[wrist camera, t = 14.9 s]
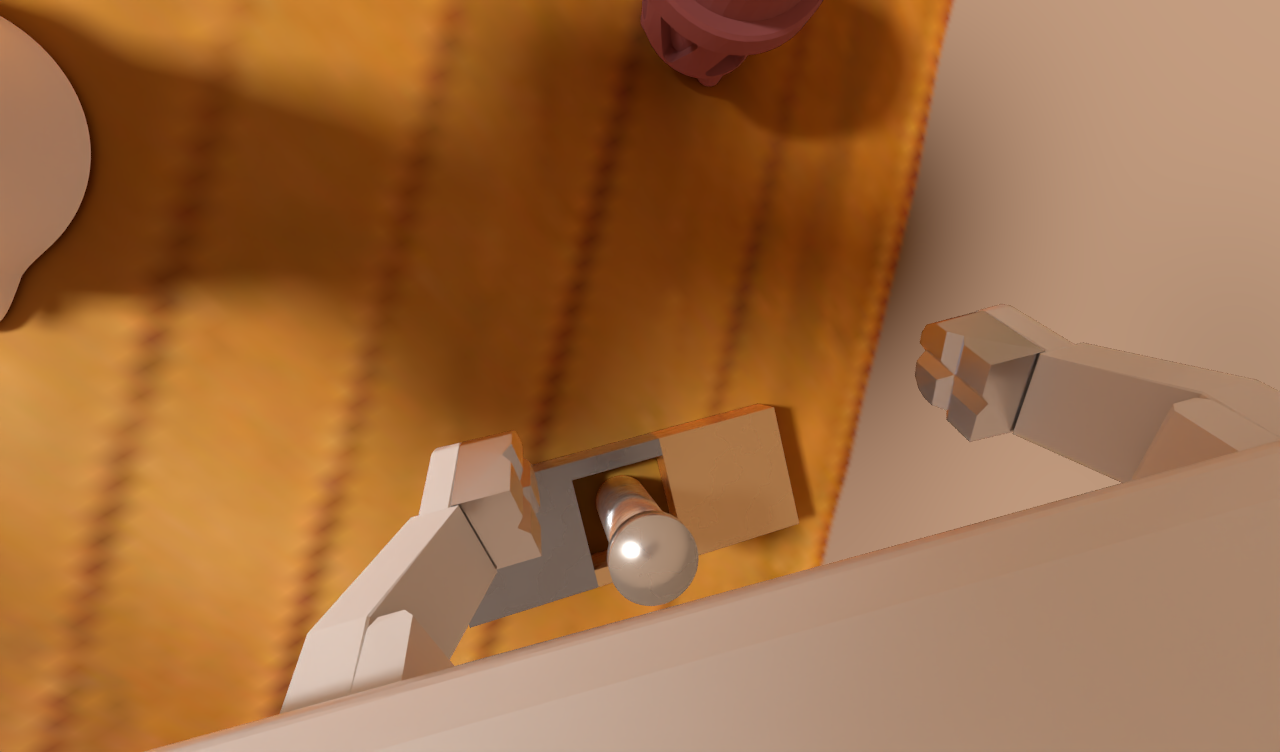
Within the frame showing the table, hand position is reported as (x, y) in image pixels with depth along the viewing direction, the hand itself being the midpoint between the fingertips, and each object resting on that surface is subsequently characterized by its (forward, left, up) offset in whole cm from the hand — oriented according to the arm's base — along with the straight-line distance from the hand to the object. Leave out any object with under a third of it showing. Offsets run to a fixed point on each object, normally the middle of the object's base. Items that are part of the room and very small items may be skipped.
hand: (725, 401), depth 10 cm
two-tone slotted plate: (-1, -8, -22) cm, 24 cm away
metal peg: (-1, -8, -22) cm, 24 cm away
